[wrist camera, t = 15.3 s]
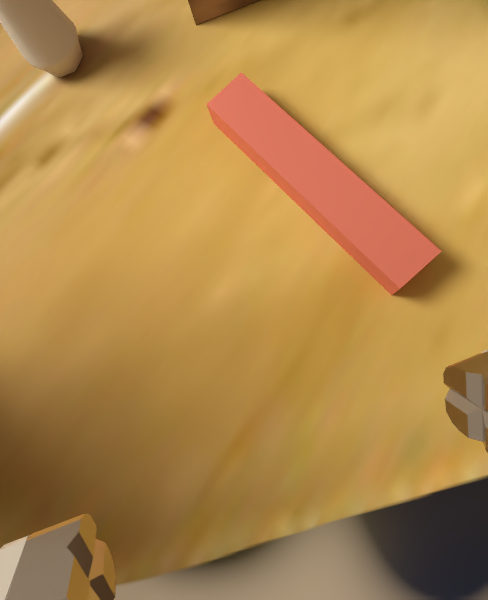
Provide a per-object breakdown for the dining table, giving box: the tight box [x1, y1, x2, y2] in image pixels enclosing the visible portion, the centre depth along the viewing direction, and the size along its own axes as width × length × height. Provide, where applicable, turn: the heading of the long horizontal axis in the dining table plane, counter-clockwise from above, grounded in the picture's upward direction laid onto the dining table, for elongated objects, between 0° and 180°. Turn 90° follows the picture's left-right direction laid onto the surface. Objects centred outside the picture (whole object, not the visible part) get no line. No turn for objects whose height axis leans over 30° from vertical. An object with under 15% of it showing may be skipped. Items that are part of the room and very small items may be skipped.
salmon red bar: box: [207, 73, 441, 295], centre depth 30 cm, size 4×22×3 cm, turn 41°
